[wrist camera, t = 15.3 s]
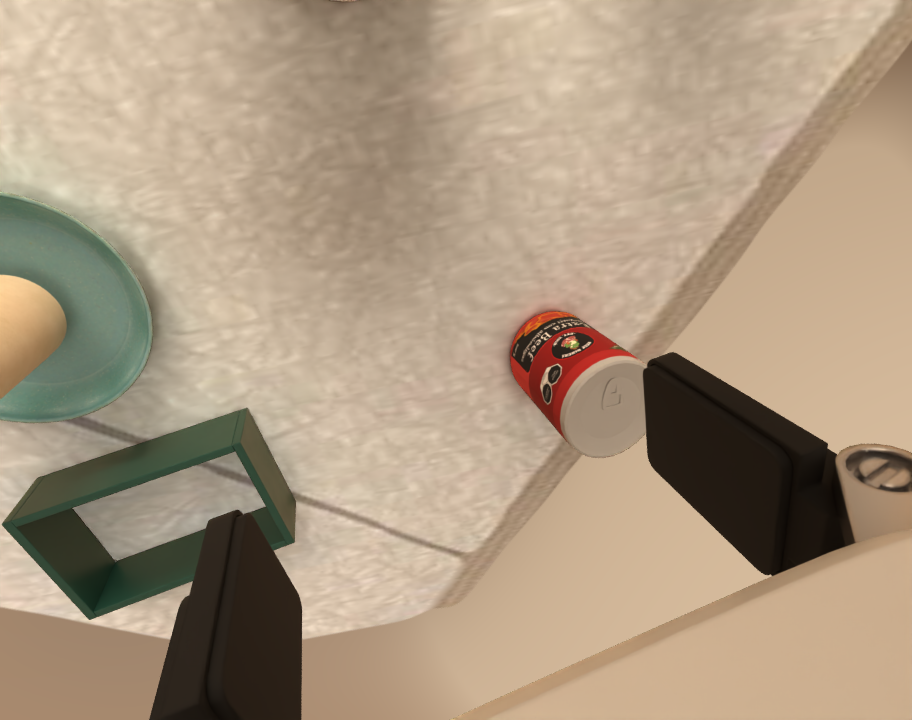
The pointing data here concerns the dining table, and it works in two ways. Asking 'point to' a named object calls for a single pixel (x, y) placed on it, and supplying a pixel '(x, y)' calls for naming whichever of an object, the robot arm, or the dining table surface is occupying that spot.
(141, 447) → the case
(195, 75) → the dining table surface
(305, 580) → the dining table surface
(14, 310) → the candle
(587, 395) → the canned food
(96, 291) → the saucer
